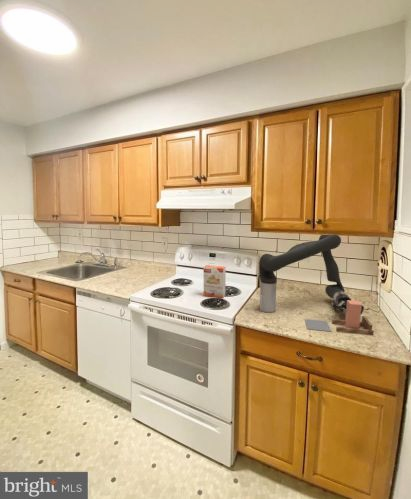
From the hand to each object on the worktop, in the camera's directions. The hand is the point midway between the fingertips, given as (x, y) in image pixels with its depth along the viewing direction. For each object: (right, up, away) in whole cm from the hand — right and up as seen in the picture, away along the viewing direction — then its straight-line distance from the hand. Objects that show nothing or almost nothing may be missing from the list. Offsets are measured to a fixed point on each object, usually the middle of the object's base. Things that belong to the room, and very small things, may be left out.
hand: (351, 311), depth 129 cm
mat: (-16, -8, +3) cm, 18 cm away
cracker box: (-68, -1, +45) cm, 81 cm away
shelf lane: (0, -8, -1) cm, 8 cm away
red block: (0, -8, -1) cm, 8 cm away
